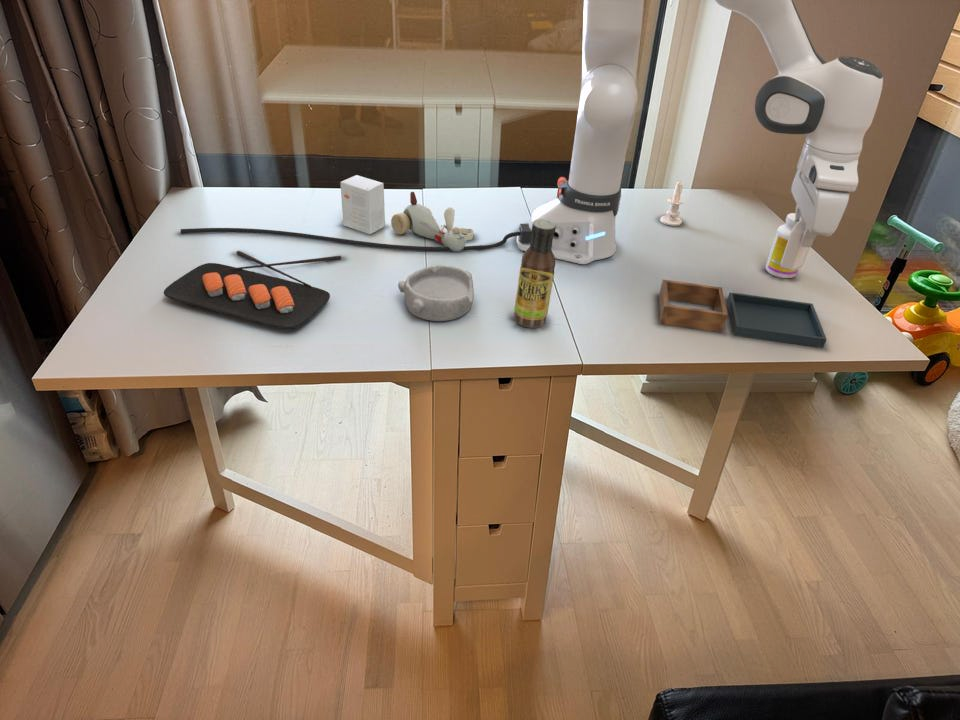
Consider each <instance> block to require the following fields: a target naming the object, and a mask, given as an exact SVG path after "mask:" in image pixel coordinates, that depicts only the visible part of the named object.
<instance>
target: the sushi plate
mask: <svg viewBox="0 0 960 720" xmlns="http://www.w3.org/2000/svg"><path fill="white" fill-rule="evenodd" d="M236 254H237V255H238V256H240V257H242V258H245V259H247V260H249V261H251V262H254V263H256V264H257V265H248V266H247V265H246V266H240V267H239V266H238V267H236V266H231V265H227V264H223V263H216V262H207V263H202V264H200V265H199V266H197V267H194V268H193V269H191V270H190V271H188V272H186V273H185V274H183V275H182V276H180V277H179V278H178V279H176V280H174V281H173V282H171V283H170V284H169V285H167V286H166V287H165V289H164V290H163V295H164V296H165V297H166V298H168V299H170V300H173V301H176V302H180V303H183V304H187V305H191V306H194V307H198V308H201V309H202V308H203V309H206V310H209V311H213V312H217V313H220V314H224V315H229V316H231V317H236V318H239V319H243V320H247V321H251V322H254V323H258V324H262V325H266V326H269V327H272V328H273V327H274V328H278V329H284V330H292V329H293V330H294V329H296V328H299V327H301V326H302V325H304V324H305V323H306V322H308V321H309V320H310V319H311V318H312V317H314V315H316V314H317V313H318V312H319V311H320V310H321V309H322V308H323V307H324V306H325V305H326V304H327V303H328V301H330V298H331V294H330V292H328V291H327V290H325V289H322V288H319V287H315V286H312V285H310V284H308V283H306V282H304V281H302V280H300V279H298V278H296V277H294V276H291V275H290V274H287V273H286V272H284V271H282V270H279V269H277V268H276V267H275V266H285V265H296V264H307V263H309V264H310V263H318V262H319V263H320V262H329V261H337V260H338V261H339V260H342V256H341V255H337V256H336V255H335V256H326V257H325V256H324V257H316V258H309V259H301V260H292V261H291V260H290V261H283V262H275V263H274V262H273V263H265V262H263V261H261V260H260V259H257V258H255V257H253V256H251V255H249V254H247V253H245V252H243V251H241V250H236ZM256 268H266V269H270V270H272V271H274V272H275V273H279V274H281V275H283V276H285V277H287V278H289V279H290V280H288V279H284V278H279V277H276V276H272V275H268V274H263V273H260V272H257V271H251V270H248V269H256ZM292 280H294V281H292Z"/></svg>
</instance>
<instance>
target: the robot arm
mask: <svg viewBox="0 0 960 720" xmlns="http://www.w3.org/2000/svg"><path fill="white" fill-rule="evenodd" d="M714 1H715V2H716V4H718V5H719V6H720V7H722V8H724V9H726V10H729V11H732V12H735V13H737V14H738V15H741V16H743V17H745V18H747V19H748V20H749V21H750V22H752V23H753V24H754V25H755V26H756V28H757V29H758V30H759V32H760V34H761V36H762V38H763V40H764V43H765V44H766V47H767V49H768V51H769V54H770V56H771V58H772V60H773V62H774V64H775V67H776V69H777V73H778V74H777V75H776V76H774V77H772V78H770V79H768V81H766V82H765V83H764V84H763V85H762V86H761V87H760V89H759V90H758V92H757V94H756V97H755V100H754V112H755V113H754V114H755V116H756V119H757V121H758V123H759V124H760V125H761V127H763V128H764V129H765V130H767V131H769V132H772V133H776V134H782V135H783V134H785V135H805V140H804V142H803V145H802V149H801V151H800V154H799V158H798V160H797V165H796V169H797V170H796V172H795V175H794V178H793V180H792V183H791V188H790V192H791V194H792V197H793V199H794V201H795V204H796V206H795V212H794V213H795V220H794V223H793V226H794V225H795V224H796V223H797V222H799V220H800V217H801V214H802V217H803V219H804V221H805V223H806V230H805V232H804V234H802V235H801V239H800V244H801V246H802V247H808V248H809V249H810V248H812V246H813V243H814V241H815V239H816V237H817V236H821V237H831V236H832V235H833V234H834V233H836V231H837V229H838V227H839V225H840V222H841V220H842V218H843V215H844V213H845V211H846V209H847V206H848V203H849V199H850V193H854V192H855V191H857V189H858V185H859V174H858V165H859V158H860V156H861V153H862V150H863V143H864V137H865V135H866V132H868V130H869V128H870V127H871V126H872V123H873V120H874V118H875V114H876V112H877V109H878V105H879V102H880V98H881V94H882V92H883V84H884V76H883V73H882V71H881V70H880V68H879V67H877V66H876V64H874V63H872V62H870V61H868V60H865V59H863V58H860V57H854V56H850V55H844V56H843V55H842V56H838V57H837V58H835V59H833V60H830V61H828V62H827V61H826V60H824V59H823V57H821V56H820V54H819V53H818V51H817V50H816V48H815V47H814V44H813V43H812V41H811V38H810V36H809V33H808V32H807V29H806V27H805V25H804V22H803V20H802V17H801V16H800V13H799V11H798V8H797V6H796V5H795V2H794V0H714ZM644 5H645V0H583V12H582V14H583V17H582V48H581V49H582V55H581V82H580V83H581V84H580V95H579V103H578V110H577V117H576V125H575V132H574V140H573V146H572V153H571V160H570V168H569V174H568V180H567V178H566V177H565V176H559V178H558V179H557V183H556V185H557V193H556V196H555V197H553V198H552V199H550V200H548V201H546V202H544V203H542V204H540V205H539V206H537V207H536V208H534V210H533V212H532V214H531V215H530V217H529V220H528V222H526V223H519V227H518V231H514V232H510V233H508V234H506V235H504V237H503V239H502V240H500V241H498V242H496V243H492V244H482V245H481V244H480V245H465V247H464V248H463V249H462V250H460V251H459V252H463V251H464V252H465V251H479V250H489V249H493V248H497V247H501V246H503V245H505V244H506V243H507V241H508V240H509V239H510V238H514V237H516V240H515V242H516V243H515V244H516V246H517V248H518V249H519V250H520V251H523V252H526V250H527V249H528V248H529V247H530V243H531V238H532V225H533V222H534V221H535V220H538V219H546V220H550V221H552V222H554V223H555V225H556V229H555V233H554V235H553V241H552V252H553V254H554V257H555V260H556V259H557V260H560V261H565V262H569V263H570V262H571V263H575V264H579V265H587V264H589V263H592V262H594V261H599V260H604V259H608V258H610V257H612V256H613V255H614V254H615V253H616V252H617V242H616V220H617V215H618V212H619V209H620V204H621V199H622V187H621V184H622V178H623V173H624V167H625V161H626V157H627V152H628V148H629V143H630V139H631V135H632V132H633V127H634V123H635V117H636V113H637V109H638V108H637V107H638V103H639V96H638V95H639V94H638V88H637V87H638V86H637V85H638V84H637V76H638V65H639V55H640V48H641V47H640V45H641V39H642V38H641V37H642V30H643V19H644V18H643V17H644ZM198 233H245V234H261V235H262V234H263V235H274V236H275V235H276V236H284V237H292V238H293V237H294V238H303V239H309V240H317V241H324V242H331V243H340V244H347V245H354V246H362V247H371V248H379V249H380V248H381V249H390V250H401V251H403V250H404V251H419V252H420V251H421V252H425V251H426V252H454V251H453V250H451V249H450V248H449V247H446V246H423V245H422V246H421V245H420V246H419V245H403V244H392V243H391V244H389V243H379V242H371V241H362V240H355V239H348V238H347V239H346V238H339V237H333V236H332V237H331V236H324V235H319V234H318V235H317V234H312V233H311V234H310V233H303V232H292V231H286V230H285V231H284V230H275V229H264V228H263V229H260V228H248V227H247V228H246V227H199V228H198V227H197V228H196V227H195V228H180V234H198Z"/></svg>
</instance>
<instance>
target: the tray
mask: <svg viewBox="0 0 960 720" xmlns="http://www.w3.org/2000/svg"><path fill="white" fill-rule="evenodd" d="M726 305H727V308H728V314H729V317H730V323H731V328H732V332H733V336H737V337H743V338H748V339H749V338H750V339H756V340H764V341H771V342H776V343H777V342H778V343H784V344H790V345H791V344H792V345H798V346H805V347H812V348H819V349H824V347H825V345H826V342H827V340H828V339H827V337H826V336H827V335H826V334H825V332H824V329H823V326H822V323H821V322H820V319H819V316H818V313H817V311H816V308H815V306H814V303H810V302H803V301H795V300H789V299H782V298H774V297H767V296H759V295H752V294H745V293H739V292H738V293H737V292H730V291H729V293H728V296H727V298H726Z"/></svg>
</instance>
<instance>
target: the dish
mask: <svg viewBox="0 0 960 720" xmlns="http://www.w3.org/2000/svg"><path fill="white" fill-rule="evenodd" d="M397 286H398V290H399V291H400V293H403V294H404V300H405V301H404V302H405V304H406V307H407V309H408V311H409V312H410V313H411V314H412V315H414V316H416V317H417V318H420V319H423V320H426V321H433V322H445V321H446V322H447V321H452V320H455V319H458V318H460V317H462V316H464V315H466V314H467V313H468V312H469V310H470V309H471V307H472V305H473V303H474V297H475V294H474V293H475V289H474V280H473V275H472V273H471V271H470V270H468V269H467V270H465V269H462V268H460V267H456V266H452V265H443V264H442V265H441V264H438V265H435V266H432V265H431V266H426V267H423V268H421V269H418V270H416V271H414V272H412V273H411V274H409V275H408V276H407V277H406V279H405V280H399V281H398V284H397Z"/></svg>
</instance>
